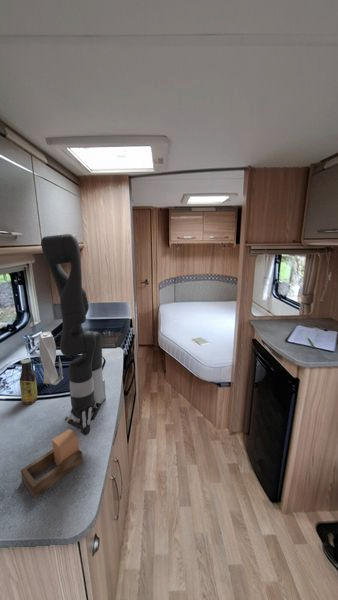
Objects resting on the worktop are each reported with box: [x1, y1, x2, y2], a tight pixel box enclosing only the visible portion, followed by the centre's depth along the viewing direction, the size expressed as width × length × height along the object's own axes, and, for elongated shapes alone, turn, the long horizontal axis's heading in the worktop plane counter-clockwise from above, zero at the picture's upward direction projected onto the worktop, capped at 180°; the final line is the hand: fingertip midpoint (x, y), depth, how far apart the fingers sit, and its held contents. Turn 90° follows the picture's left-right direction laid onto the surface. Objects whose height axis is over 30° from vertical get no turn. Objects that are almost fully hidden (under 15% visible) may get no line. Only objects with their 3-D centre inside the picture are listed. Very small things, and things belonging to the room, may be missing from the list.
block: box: [51, 428, 80, 467], centre depth 80 cm, size 6×5×9 cm
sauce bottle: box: [19, 358, 38, 405], centre depth 109 cm, size 6×6×20 cm
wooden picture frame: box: [20, 448, 84, 499], centre depth 77 cm, size 15×8×4 cm, turn 142°
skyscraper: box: [38, 331, 65, 386], centre depth 123 cm, size 8×8×28 cm
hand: (85, 433), depth 85 cm, fingers closed
